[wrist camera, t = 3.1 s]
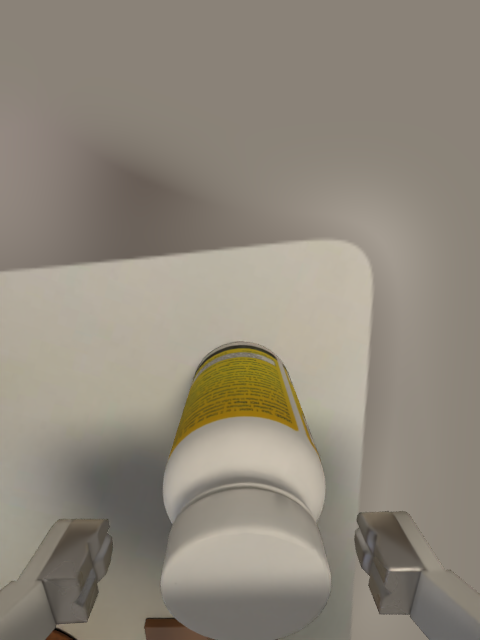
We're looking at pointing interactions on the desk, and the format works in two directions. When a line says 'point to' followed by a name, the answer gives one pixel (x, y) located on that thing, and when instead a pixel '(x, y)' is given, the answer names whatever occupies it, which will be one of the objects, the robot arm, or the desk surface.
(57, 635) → the case
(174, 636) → the brown wooden coaster
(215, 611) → the pill bottle
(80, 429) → the desk surface
